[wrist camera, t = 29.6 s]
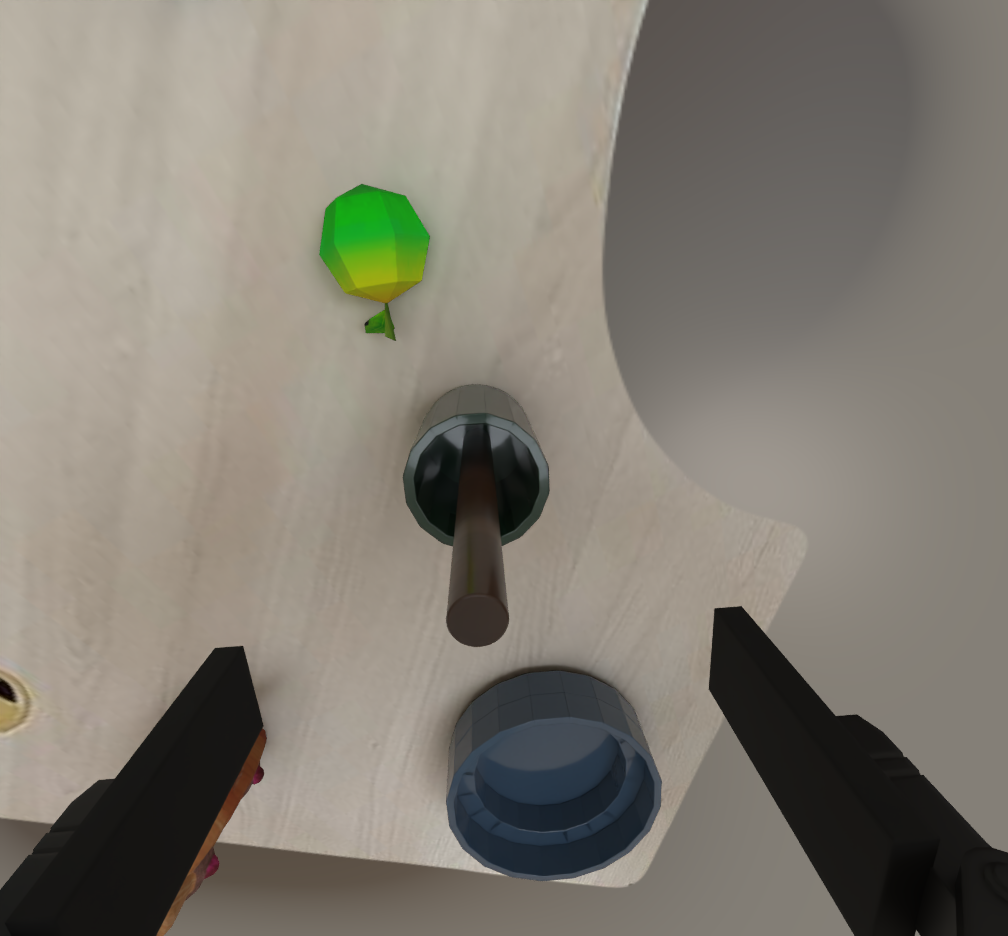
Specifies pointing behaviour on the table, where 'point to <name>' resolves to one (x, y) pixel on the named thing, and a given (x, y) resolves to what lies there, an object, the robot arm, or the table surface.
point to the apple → (374, 248)
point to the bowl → (550, 777)
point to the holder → (440, 456)
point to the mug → (218, 831)
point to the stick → (477, 551)
